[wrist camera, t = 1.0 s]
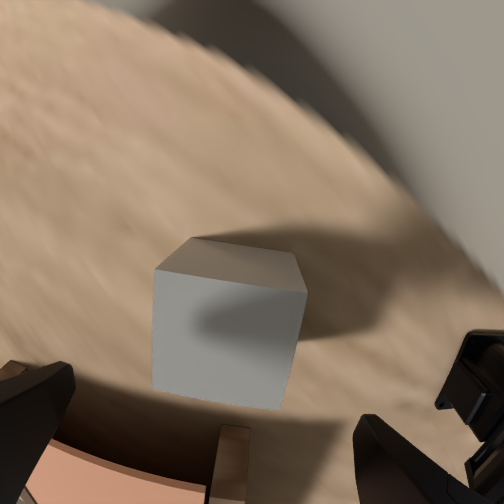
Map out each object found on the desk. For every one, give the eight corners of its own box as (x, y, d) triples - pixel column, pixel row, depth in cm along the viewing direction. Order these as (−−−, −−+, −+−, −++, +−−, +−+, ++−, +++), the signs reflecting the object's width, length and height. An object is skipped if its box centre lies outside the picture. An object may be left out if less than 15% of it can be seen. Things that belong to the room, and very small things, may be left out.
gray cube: (293, 252, 17) (308, 293, 11) (275, 343, 18) (279, 410, 12) (190, 237, 17) (154, 269, 11) (183, 328, 18) (152, 389, 12)
